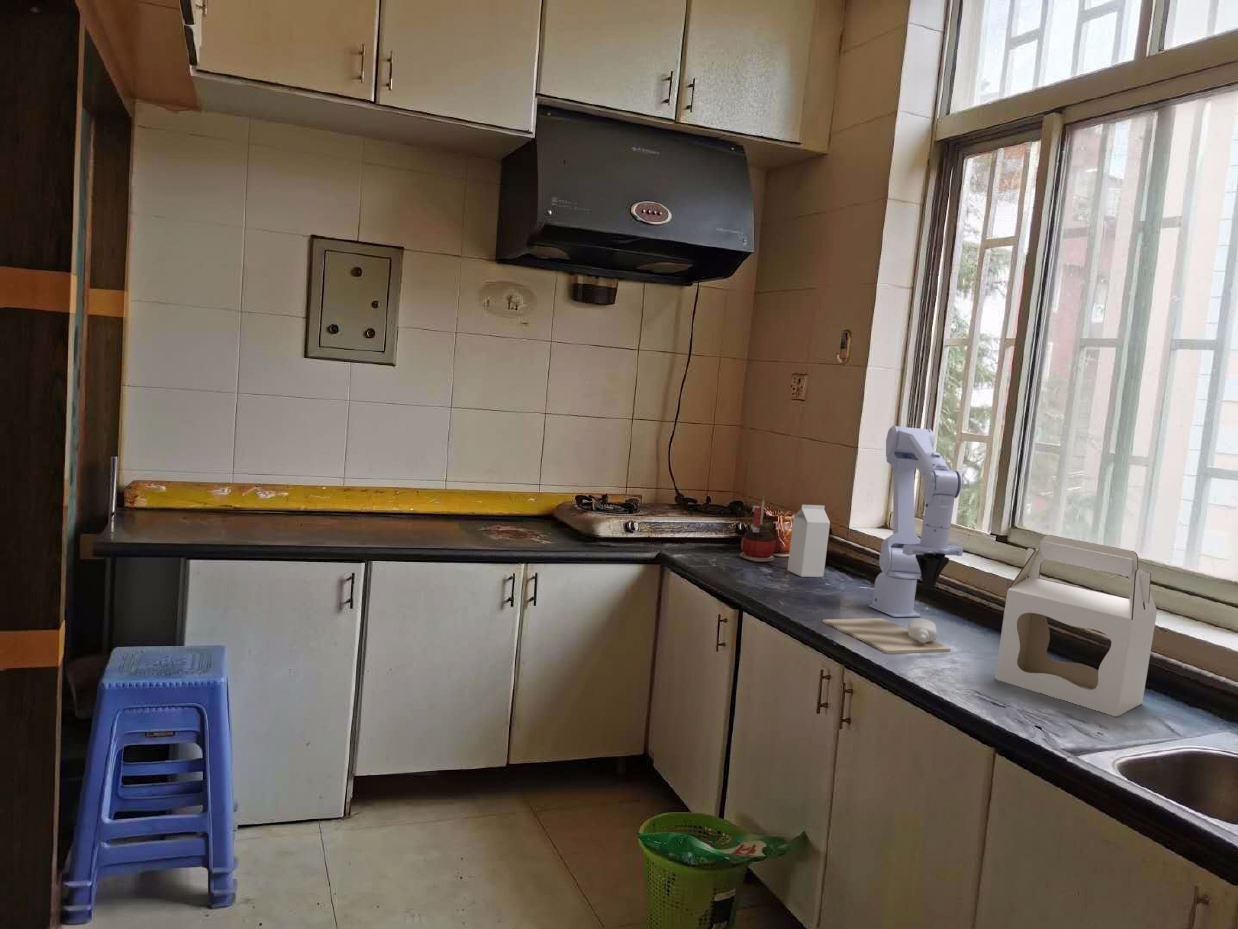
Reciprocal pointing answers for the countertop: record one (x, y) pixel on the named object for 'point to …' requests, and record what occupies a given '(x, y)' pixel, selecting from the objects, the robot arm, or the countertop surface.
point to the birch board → (884, 635)
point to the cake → (758, 539)
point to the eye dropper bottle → (922, 630)
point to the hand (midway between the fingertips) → (928, 587)
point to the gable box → (1078, 607)
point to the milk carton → (809, 541)
